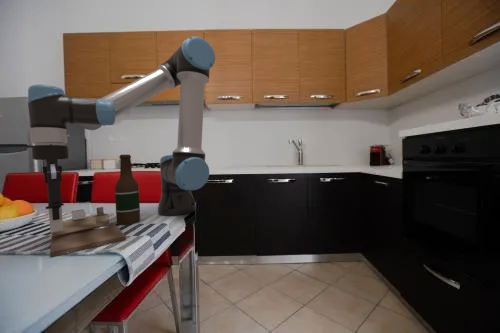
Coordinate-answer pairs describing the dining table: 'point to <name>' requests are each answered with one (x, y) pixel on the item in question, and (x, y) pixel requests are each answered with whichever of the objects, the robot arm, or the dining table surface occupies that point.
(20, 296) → the dining table surface
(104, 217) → the link
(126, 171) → the beer bottle
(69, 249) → the base plate
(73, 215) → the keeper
